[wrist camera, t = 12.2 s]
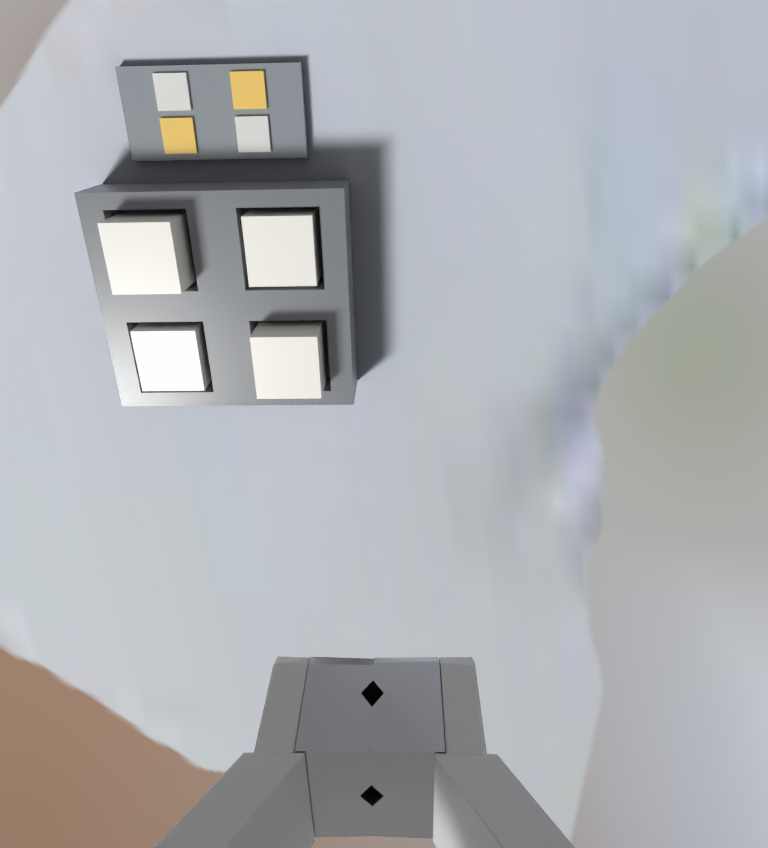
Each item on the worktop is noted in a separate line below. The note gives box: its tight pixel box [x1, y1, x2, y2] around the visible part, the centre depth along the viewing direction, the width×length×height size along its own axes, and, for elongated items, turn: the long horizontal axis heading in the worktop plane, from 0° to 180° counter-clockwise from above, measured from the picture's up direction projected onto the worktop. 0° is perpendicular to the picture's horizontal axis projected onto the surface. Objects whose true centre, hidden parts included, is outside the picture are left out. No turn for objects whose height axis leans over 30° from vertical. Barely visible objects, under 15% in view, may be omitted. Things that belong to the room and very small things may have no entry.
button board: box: [74, 180, 357, 406], centre depth 43 cm, size 16×14×4 cm
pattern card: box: [115, 62, 308, 161], centre depth 40 cm, size 11×5×1 cm, turn 91°
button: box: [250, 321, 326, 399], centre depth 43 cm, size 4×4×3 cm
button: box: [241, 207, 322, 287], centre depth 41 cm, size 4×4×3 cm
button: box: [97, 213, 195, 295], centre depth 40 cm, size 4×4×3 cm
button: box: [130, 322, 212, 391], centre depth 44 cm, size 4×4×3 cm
